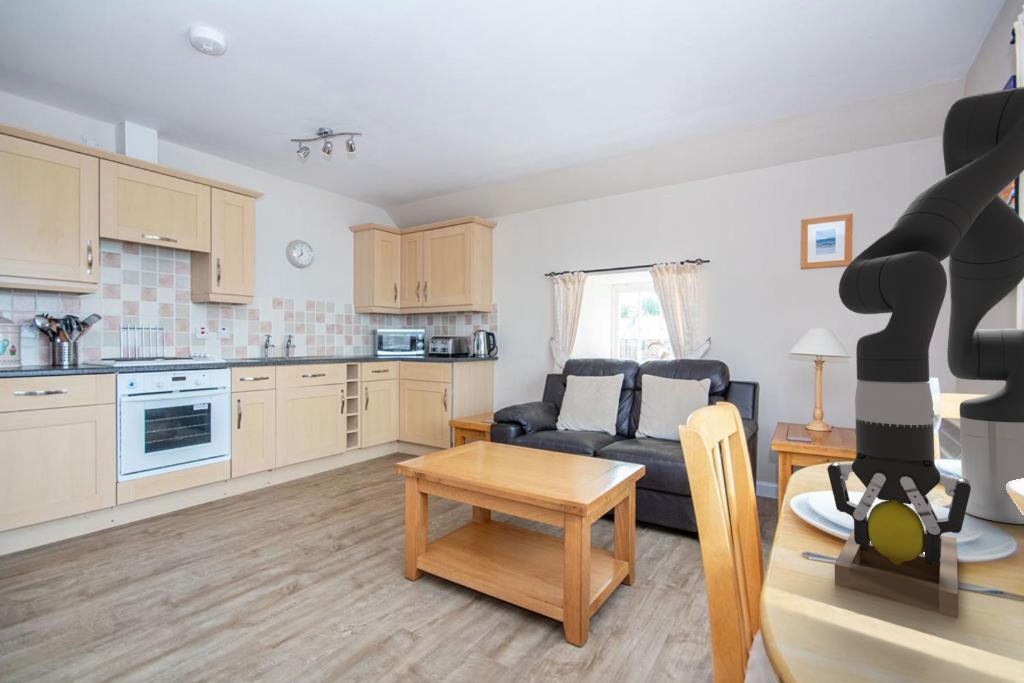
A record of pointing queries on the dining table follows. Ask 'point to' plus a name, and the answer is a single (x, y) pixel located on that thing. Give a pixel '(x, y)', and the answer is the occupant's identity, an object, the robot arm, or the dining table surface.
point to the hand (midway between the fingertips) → (896, 554)
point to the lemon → (896, 531)
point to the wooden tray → (902, 576)
